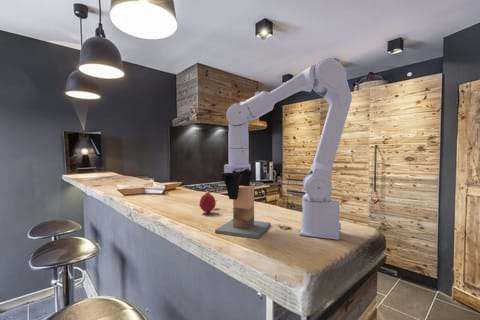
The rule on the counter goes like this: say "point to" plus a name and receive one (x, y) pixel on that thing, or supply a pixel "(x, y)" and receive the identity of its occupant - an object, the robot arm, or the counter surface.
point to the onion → (207, 202)
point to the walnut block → (243, 218)
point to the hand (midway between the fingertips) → (238, 196)
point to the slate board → (251, 233)
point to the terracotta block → (244, 197)
